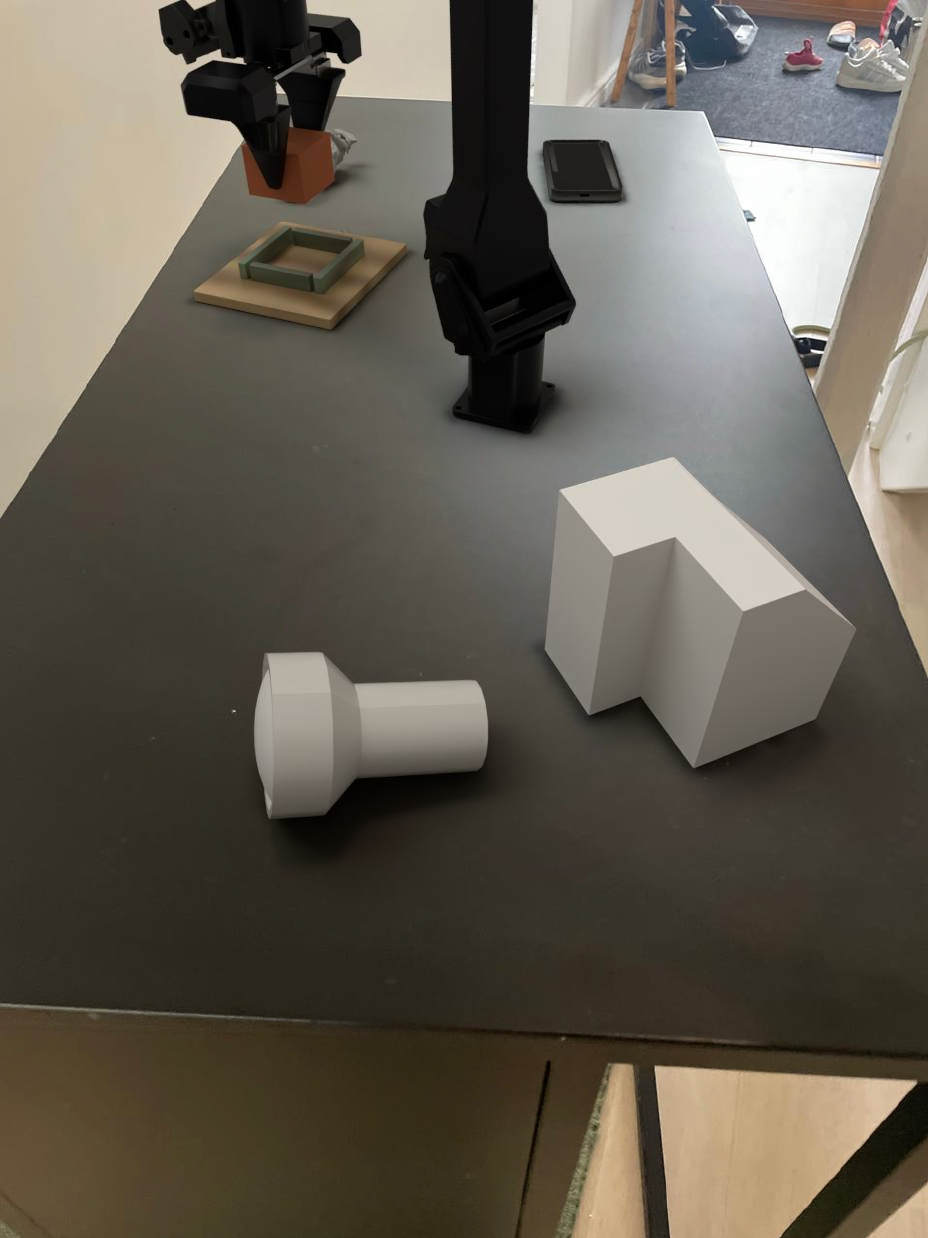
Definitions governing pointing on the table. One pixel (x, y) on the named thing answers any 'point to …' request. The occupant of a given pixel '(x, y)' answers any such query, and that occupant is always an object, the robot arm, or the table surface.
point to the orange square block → (296, 167)
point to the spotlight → (356, 731)
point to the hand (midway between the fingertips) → (292, 175)
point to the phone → (581, 171)
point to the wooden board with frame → (302, 274)
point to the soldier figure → (340, 145)
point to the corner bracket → (685, 613)
